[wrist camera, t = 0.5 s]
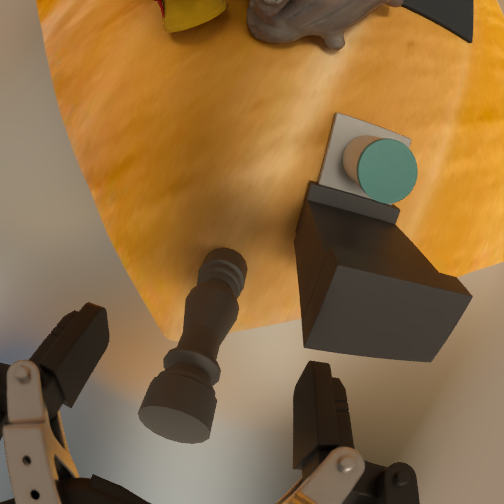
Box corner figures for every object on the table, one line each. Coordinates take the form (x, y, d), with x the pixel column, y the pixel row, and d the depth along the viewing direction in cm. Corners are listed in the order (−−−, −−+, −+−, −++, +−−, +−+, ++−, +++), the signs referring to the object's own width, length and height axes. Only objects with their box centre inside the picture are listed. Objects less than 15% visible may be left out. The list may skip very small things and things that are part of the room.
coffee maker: (327, 110, 31) (387, 100, 13) (414, 141, 31) (522, 174, 13) (293, 238, 38) (303, 348, 20) (375, 258, 38) (431, 362, 20)
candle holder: (215, 291, 43) (164, 444, 20) (196, 256, 40) (119, 404, 18) (254, 279, 41) (228, 443, 19) (236, 241, 39) (185, 400, 16)
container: (349, 127, 30) (368, 129, 23) (397, 144, 30) (424, 151, 23) (335, 178, 33) (350, 193, 26) (382, 192, 33) (406, 211, 26)
